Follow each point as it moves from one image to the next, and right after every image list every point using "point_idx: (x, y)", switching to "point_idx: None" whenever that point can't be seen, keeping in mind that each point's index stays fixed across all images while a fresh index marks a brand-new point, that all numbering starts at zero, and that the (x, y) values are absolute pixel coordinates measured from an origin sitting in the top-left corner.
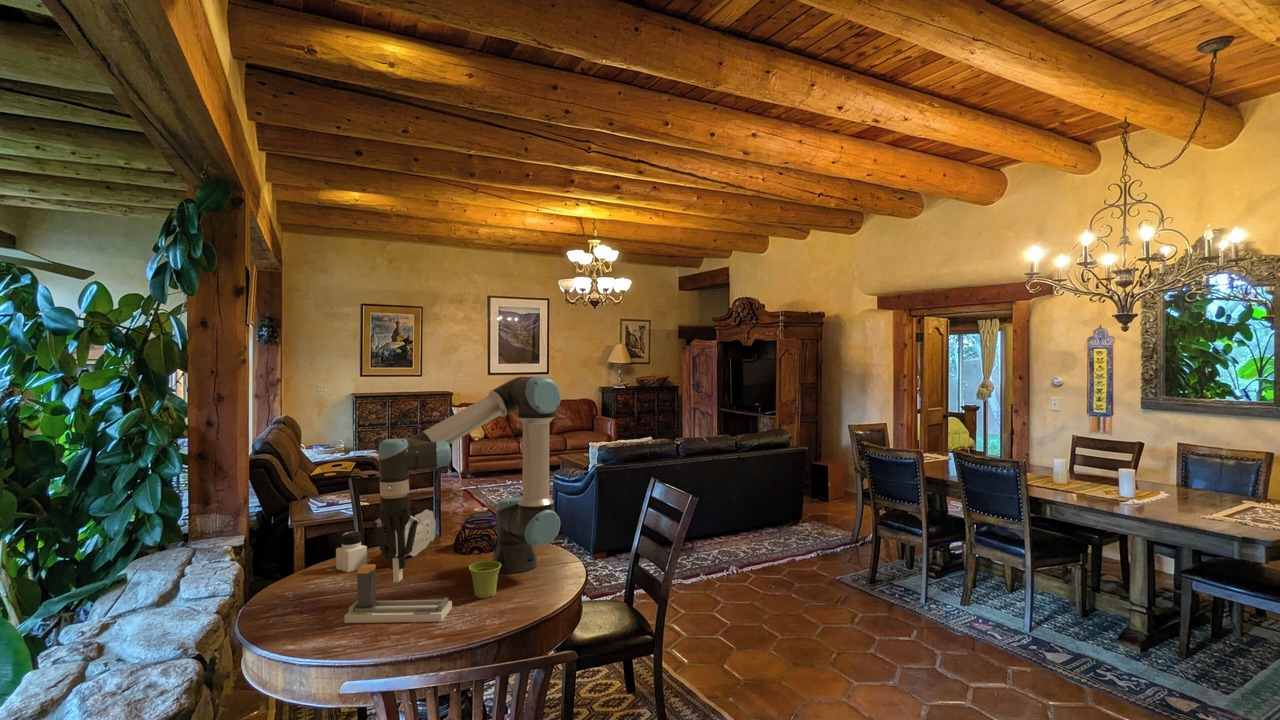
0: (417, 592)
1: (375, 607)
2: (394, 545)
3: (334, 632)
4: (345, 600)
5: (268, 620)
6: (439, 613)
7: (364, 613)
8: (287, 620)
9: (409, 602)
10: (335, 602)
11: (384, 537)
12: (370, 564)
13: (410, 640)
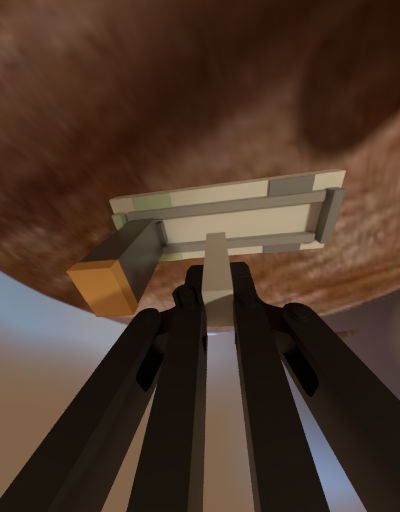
0: (190, 25)
1: (176, 246)
2: (201, 381)
3: (150, 282)
4: (31, 141)
5: (7, 253)
6: (318, 245)
7: (166, 257)
8: (36, 251)
9: (237, 209)
10: (22, 158)
11: (85, 481)
12: (91, 271)
13: (275, 298)
